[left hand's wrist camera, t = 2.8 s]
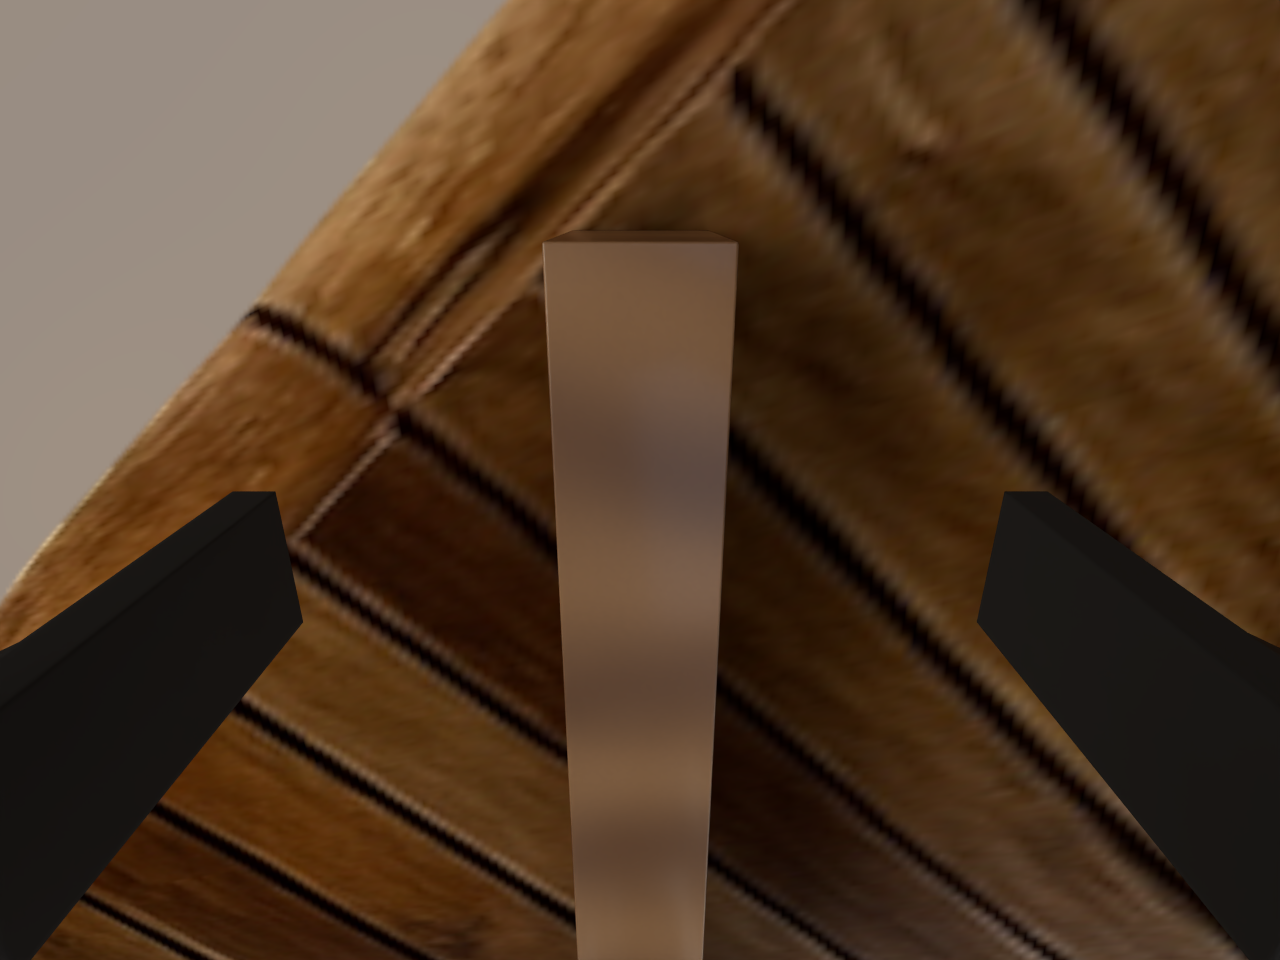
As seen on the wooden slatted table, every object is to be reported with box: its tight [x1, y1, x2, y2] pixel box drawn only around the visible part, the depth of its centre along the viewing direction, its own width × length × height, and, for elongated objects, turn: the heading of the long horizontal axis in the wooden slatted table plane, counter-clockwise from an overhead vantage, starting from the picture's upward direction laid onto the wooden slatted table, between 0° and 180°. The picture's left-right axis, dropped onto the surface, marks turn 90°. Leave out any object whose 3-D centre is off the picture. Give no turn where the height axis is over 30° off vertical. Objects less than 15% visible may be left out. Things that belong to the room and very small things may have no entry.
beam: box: [542, 230, 739, 960], centre depth 32 cm, size 59×5×8 cm, turn 0°
